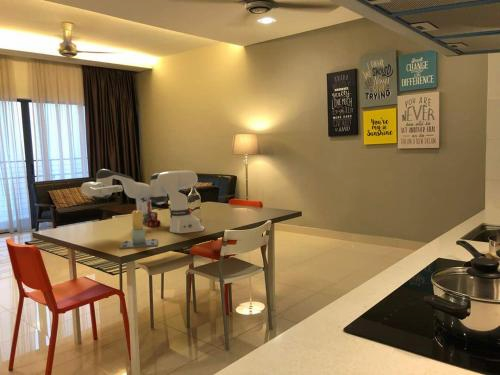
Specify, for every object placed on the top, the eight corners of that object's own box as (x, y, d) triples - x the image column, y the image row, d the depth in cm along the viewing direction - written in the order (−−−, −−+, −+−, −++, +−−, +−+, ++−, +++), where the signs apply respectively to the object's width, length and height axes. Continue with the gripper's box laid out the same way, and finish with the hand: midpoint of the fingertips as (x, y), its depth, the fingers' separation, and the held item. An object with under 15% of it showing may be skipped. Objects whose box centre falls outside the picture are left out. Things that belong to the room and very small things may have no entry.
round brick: (143, 227, 234) (142, 209, 233) (143, 229, 229) (141, 211, 228) (133, 228, 233) (132, 210, 232) (132, 230, 228) (131, 211, 227)
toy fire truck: (153, 224, 291) (153, 209, 290) (162, 226, 281) (161, 211, 280) (144, 225, 286) (143, 211, 285) (152, 228, 277) (151, 213, 276)
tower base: (157, 240, 241) (156, 225, 240) (157, 246, 227) (156, 230, 226) (122, 243, 237) (121, 228, 236) (119, 249, 223) (118, 233, 222)
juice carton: (135, 222, 301) (133, 185, 298) (142, 219, 311) (140, 184, 308) (146, 222, 299) (144, 185, 296) (153, 219, 309) (151, 183, 306)
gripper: (114, 192, 260) (129, 193, 252) (86, 196, 243) (100, 197, 235) (114, 182, 259) (128, 183, 251) (85, 186, 242) (100, 187, 234)
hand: (114, 190), depth 243 cm, fingers open, 8 cm apart
